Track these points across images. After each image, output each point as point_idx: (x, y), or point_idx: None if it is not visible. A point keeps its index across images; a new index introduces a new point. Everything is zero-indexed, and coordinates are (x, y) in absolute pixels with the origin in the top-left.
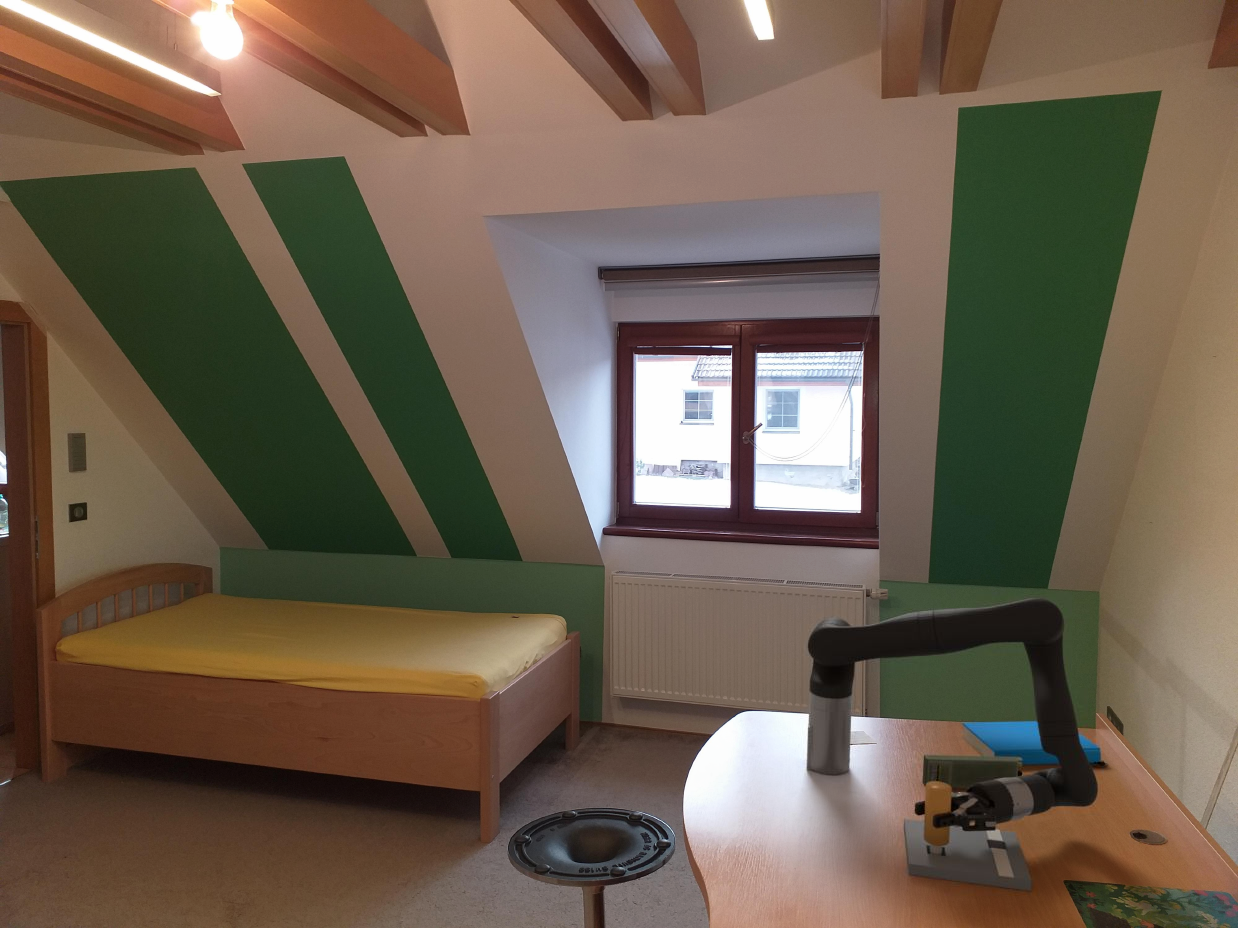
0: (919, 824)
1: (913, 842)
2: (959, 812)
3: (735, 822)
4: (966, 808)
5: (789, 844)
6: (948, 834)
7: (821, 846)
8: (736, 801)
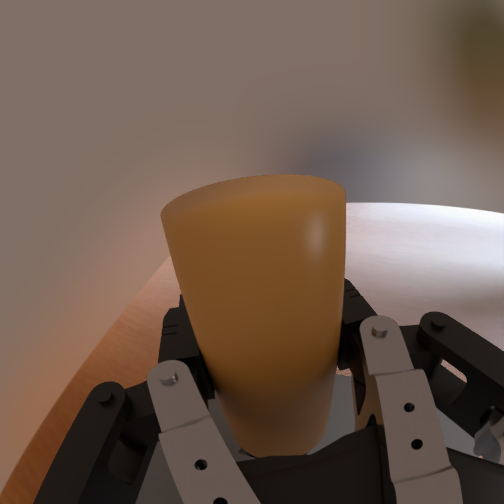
0: (455, 426)
1: (337, 391)
2: (164, 394)
3: (394, 219)
4: (163, 443)
5: (349, 246)
6: (231, 427)
7: (349, 271)
8: (446, 222)
